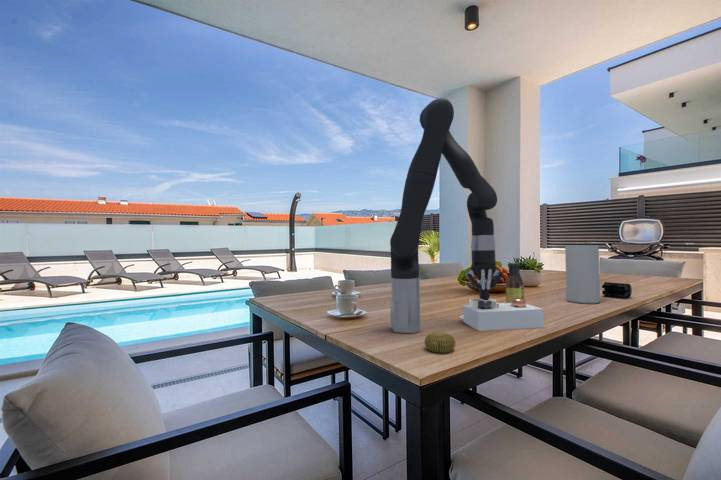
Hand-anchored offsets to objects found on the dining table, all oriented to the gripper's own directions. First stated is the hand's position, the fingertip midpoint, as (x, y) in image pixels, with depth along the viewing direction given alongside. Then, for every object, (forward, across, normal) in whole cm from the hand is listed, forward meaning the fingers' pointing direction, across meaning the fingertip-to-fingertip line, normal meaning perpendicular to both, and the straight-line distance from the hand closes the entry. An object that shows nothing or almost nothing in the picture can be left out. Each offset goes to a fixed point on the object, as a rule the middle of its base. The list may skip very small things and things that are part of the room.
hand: (484, 300), depth 114 cm
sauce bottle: (+9, +18, +12) cm, 23 cm away
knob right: (+8, +12, 0) cm, 15 cm away
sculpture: (+9, -23, -21) cm, 32 cm away
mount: (+9, +6, 0) cm, 10 cm away
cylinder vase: (+9, +61, +31) cm, 69 cm away
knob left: (+8, 0, 0) cm, 8 cm away
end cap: (+9, +83, +37) cm, 91 cm away
